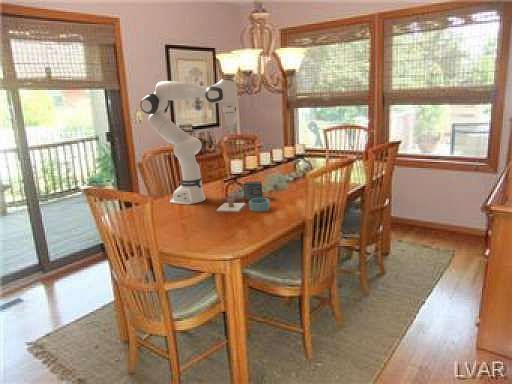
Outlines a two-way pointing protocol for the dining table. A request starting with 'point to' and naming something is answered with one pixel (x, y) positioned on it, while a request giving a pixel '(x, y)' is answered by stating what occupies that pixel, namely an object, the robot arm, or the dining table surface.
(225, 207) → the cover sheet
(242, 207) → the mat
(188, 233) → the dining table surface
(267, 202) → the bowl
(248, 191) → the small box
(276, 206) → the dining table surface
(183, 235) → the dining table surface
